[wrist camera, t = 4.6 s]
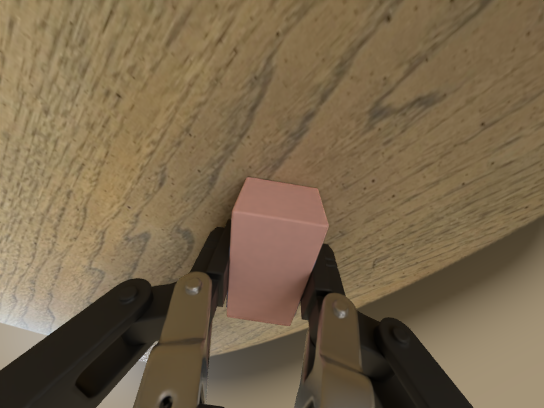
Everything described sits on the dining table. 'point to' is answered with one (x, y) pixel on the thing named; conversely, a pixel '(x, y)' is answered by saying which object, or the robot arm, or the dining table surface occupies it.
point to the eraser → (273, 249)
